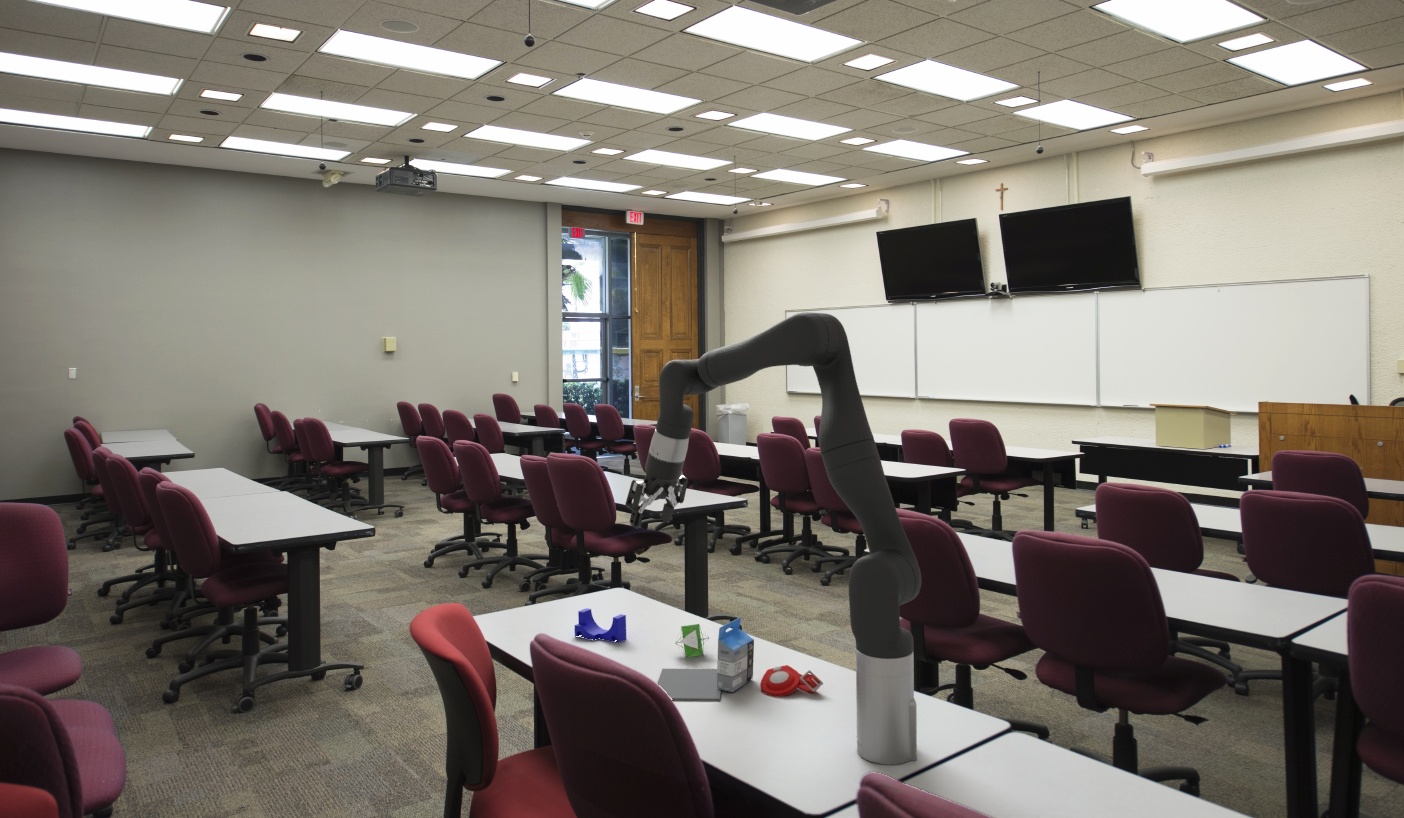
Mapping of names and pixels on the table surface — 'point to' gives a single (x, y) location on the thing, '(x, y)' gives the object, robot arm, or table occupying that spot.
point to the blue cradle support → (593, 631)
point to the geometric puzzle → (692, 640)
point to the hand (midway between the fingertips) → (650, 523)
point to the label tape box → (734, 657)
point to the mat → (690, 684)
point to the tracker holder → (788, 681)
